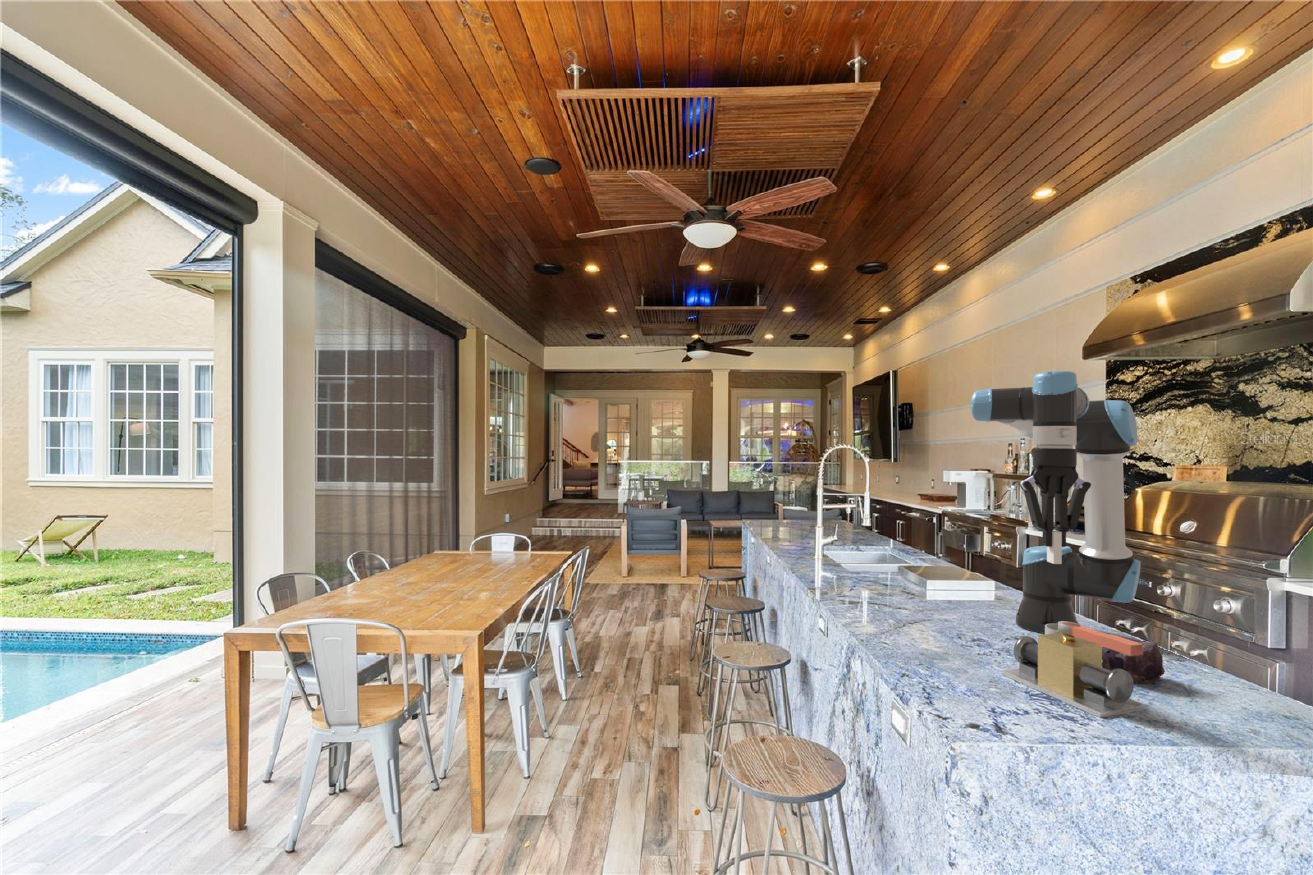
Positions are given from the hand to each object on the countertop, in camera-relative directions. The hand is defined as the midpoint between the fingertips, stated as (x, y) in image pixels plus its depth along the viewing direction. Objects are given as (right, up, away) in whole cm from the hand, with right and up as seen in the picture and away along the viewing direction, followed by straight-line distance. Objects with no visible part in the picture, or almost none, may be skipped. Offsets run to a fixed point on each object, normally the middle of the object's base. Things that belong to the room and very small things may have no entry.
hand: (1054, 562), depth 123 cm
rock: (+26, -29, +11) cm, 41 cm away
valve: (+7, -29, +5) cm, 30 cm away
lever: (+8, -16, -1) cm, 18 cm away
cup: (+17, -29, +20) cm, 39 cm away
